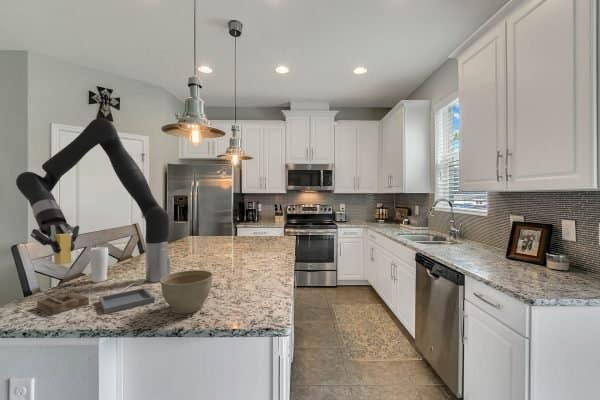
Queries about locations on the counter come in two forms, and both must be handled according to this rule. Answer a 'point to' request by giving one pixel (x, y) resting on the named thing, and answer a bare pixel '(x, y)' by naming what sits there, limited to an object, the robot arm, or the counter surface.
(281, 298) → the counter surface
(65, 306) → the brown wooden compartment tray
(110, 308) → the tray
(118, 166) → the robot arm
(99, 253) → the drinking glass
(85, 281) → the counter surface
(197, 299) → the planter bowl
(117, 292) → the spoon
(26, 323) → the counter surface
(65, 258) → the yellow rectangular block
